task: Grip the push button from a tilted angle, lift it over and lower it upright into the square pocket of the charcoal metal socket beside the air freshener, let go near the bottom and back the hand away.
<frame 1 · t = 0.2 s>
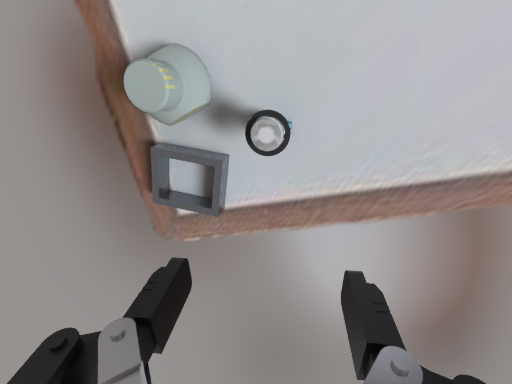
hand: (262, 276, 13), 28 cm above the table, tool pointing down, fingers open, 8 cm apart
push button: (271, 122, 38), on the table
square socket: (194, 176, 43), on the table
air freshener: (184, 87, 38), on the table
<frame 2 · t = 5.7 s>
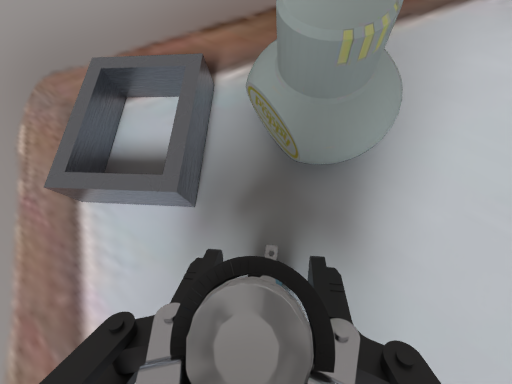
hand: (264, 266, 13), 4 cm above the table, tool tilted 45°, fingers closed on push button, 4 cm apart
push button: (268, 297, 17), on the table, touching gripper
square socket: (152, 140, 22), on the table
air freshener: (314, 119, 21), on the table
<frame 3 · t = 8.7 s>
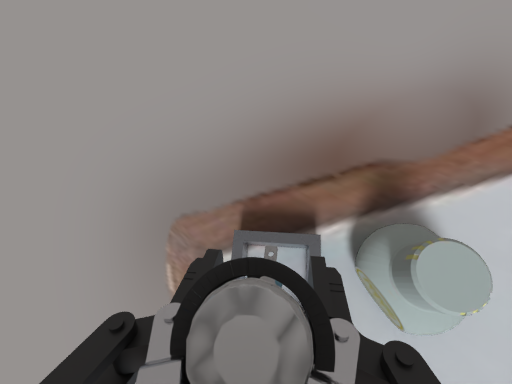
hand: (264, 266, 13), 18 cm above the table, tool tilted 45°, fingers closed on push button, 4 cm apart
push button: (267, 298, 17), point 14 cm above the table, touching gripper
square socket: (274, 286, 30), on the table
air freshener: (397, 275, 29), on the table
when the fingers open (5 cm above the table, at t = 12.0 s): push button drops 1 cm, resting in square socket.
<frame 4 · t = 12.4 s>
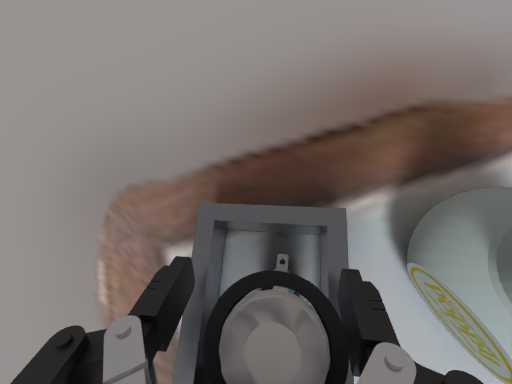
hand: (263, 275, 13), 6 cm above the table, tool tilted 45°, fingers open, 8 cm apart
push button: (279, 303, 18), resting in square socket
square socket: (268, 296, 18), on the table
air freshener: (473, 278, 17), on the table
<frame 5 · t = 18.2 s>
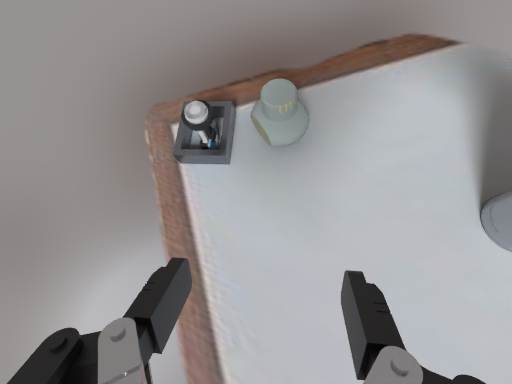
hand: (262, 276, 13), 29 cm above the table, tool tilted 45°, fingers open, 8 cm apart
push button: (212, 139, 50), resting in square socket
square socket: (208, 137, 50), on the table
air freshener: (279, 128, 49), on the table
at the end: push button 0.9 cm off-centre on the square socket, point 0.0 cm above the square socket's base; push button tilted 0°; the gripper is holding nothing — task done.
